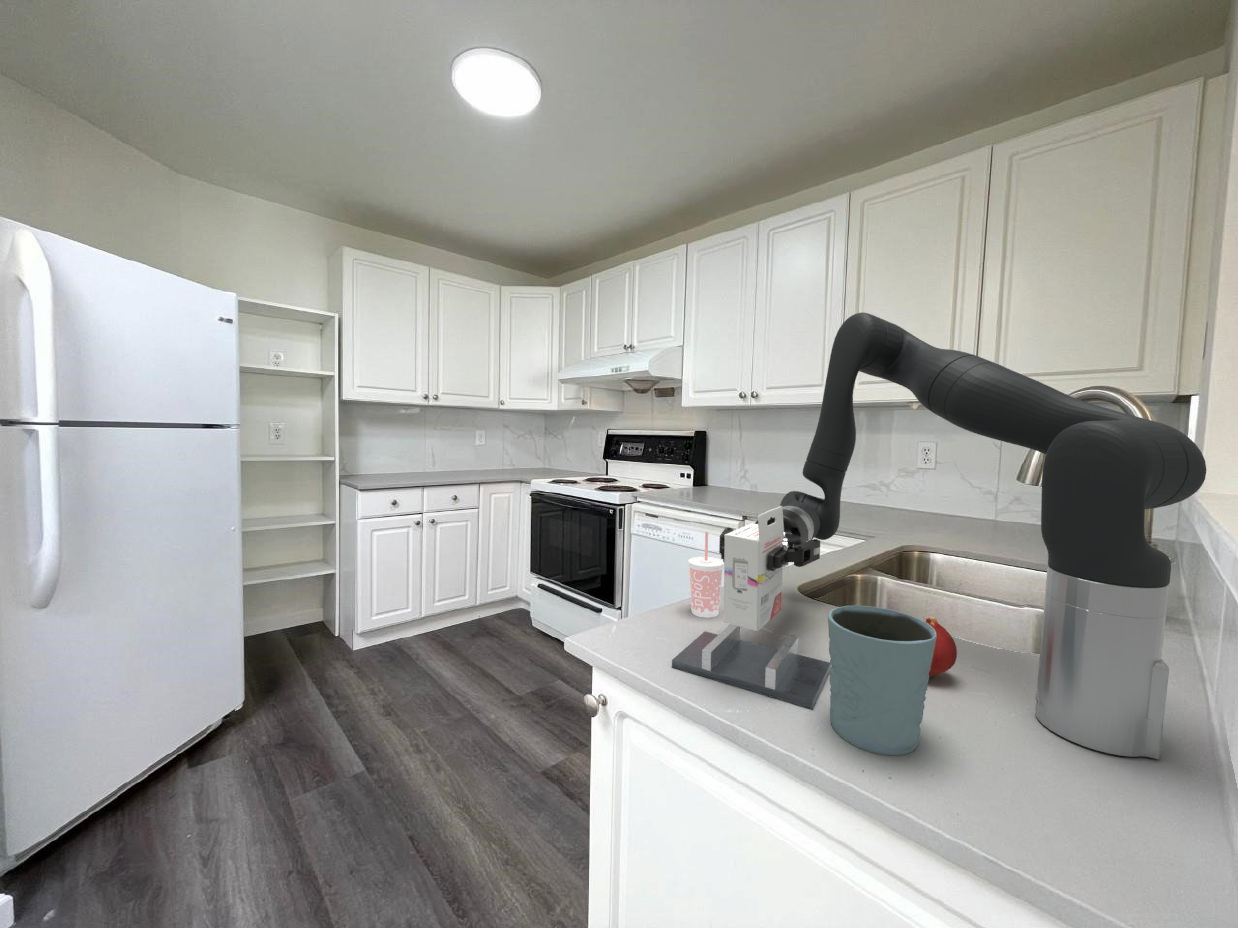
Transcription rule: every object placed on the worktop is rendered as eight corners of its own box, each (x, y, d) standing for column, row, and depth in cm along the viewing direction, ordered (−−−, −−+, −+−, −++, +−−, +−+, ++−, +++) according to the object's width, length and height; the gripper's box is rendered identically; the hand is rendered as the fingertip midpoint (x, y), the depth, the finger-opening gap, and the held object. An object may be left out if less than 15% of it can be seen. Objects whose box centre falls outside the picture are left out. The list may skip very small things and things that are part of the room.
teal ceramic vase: (806, 725, 55) (811, 619, 54) (848, 693, 62) (853, 597, 61) (907, 775, 48) (915, 652, 47) (943, 731, 54) (950, 623, 53)
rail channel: (830, 669, 68) (831, 644, 67) (812, 709, 58) (813, 680, 58) (704, 637, 77) (705, 615, 77) (671, 666, 68) (672, 641, 68)
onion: (906, 660, 70) (909, 604, 70) (956, 673, 67) (959, 614, 66) (900, 678, 66) (904, 618, 65) (954, 692, 62) (958, 629, 62)
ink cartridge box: (747, 603, 72) (750, 501, 71) (782, 611, 69) (786, 505, 68) (720, 622, 66) (723, 510, 64) (757, 632, 63) (761, 515, 61)
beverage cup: (679, 611, 88) (681, 531, 87) (703, 603, 92) (705, 526, 90) (706, 622, 83) (708, 538, 82) (730, 613, 87) (732, 533, 86)
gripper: (739, 504, 82) (695, 523, 68) (834, 513, 74) (807, 537, 60) (738, 549, 83) (694, 577, 69) (832, 563, 75) (805, 599, 61)
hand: (747, 558), depth 64 cm, fingers closed on ink cartridge box, 5 cm apart
